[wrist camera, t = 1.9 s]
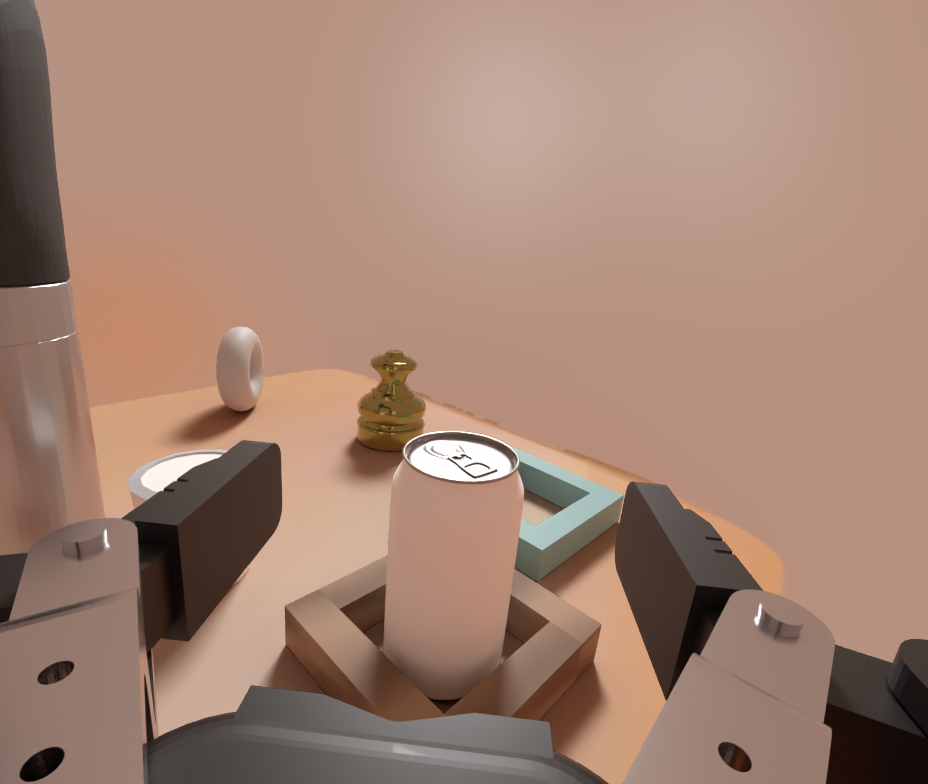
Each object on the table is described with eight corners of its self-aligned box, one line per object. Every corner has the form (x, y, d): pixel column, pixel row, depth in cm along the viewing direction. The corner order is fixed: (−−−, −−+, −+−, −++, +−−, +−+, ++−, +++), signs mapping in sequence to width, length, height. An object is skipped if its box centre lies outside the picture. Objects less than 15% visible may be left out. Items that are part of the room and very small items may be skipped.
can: (450, 595, 31) (468, 420, 27) (525, 664, 26) (557, 464, 23) (360, 641, 27) (367, 442, 23) (429, 732, 22) (451, 501, 19)
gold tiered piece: (414, 425, 59) (419, 344, 56) (431, 450, 52) (438, 360, 49) (352, 428, 56) (354, 343, 53) (362, 455, 49) (365, 360, 46)
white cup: (145, 549, 33) (134, 454, 30) (256, 530, 36) (252, 442, 34) (133, 620, 27) (118, 508, 25) (266, 590, 30) (263, 489, 28)
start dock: (285, 643, 26) (285, 605, 25) (444, 556, 35) (447, 526, 34) (437, 832, 18) (442, 785, 18) (593, 660, 27) (601, 624, 26)
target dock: (420, 507, 41) (422, 481, 40) (509, 469, 49) (512, 447, 48) (537, 581, 33) (542, 550, 32) (618, 521, 41) (623, 495, 41)
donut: (239, 395, 63) (236, 318, 60) (267, 396, 63) (265, 320, 61) (214, 423, 53) (208, 334, 51) (247, 424, 54) (244, 336, 51)
